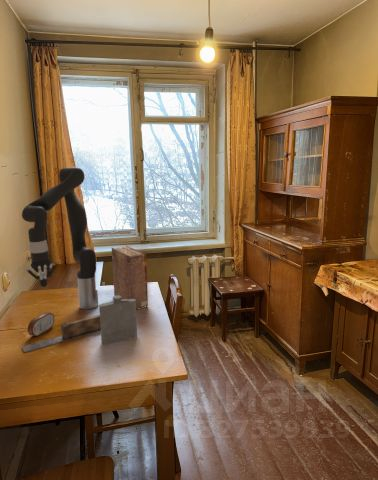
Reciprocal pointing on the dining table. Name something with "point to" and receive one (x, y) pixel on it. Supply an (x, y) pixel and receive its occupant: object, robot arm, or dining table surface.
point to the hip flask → (118, 320)
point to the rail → (54, 341)
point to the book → (130, 275)
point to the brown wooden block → (80, 326)
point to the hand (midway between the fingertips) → (43, 286)
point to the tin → (41, 323)
